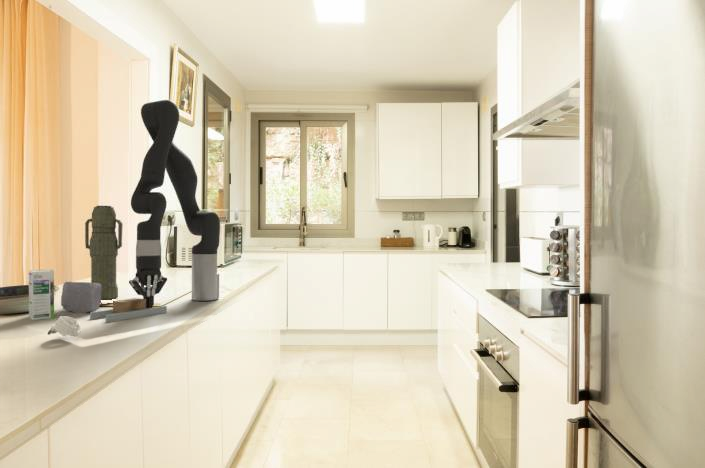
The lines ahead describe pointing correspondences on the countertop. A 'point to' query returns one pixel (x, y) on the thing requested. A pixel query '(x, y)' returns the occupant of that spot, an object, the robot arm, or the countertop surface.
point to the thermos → (104, 249)
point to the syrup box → (41, 294)
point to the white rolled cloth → (66, 326)
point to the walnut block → (128, 305)
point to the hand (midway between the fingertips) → (148, 307)
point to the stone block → (81, 296)
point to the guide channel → (127, 314)
